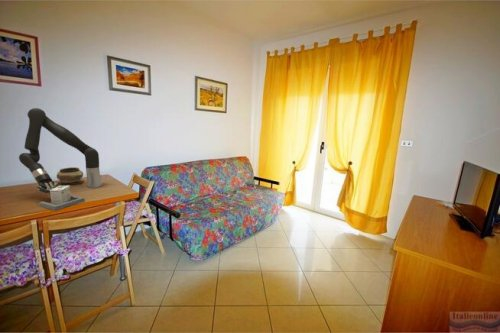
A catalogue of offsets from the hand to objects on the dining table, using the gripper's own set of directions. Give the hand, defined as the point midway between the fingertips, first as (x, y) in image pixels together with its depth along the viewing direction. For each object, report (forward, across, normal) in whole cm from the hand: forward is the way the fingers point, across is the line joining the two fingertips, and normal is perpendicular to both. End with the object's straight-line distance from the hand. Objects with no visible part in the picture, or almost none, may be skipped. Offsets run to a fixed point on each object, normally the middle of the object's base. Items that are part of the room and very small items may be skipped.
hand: (54, 196), depth 149 cm
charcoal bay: (+7, +1, -1) cm, 7 cm away
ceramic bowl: (-22, +31, +29) cm, 48 cm away
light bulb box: (+6, +2, 0) cm, 6 cm away
